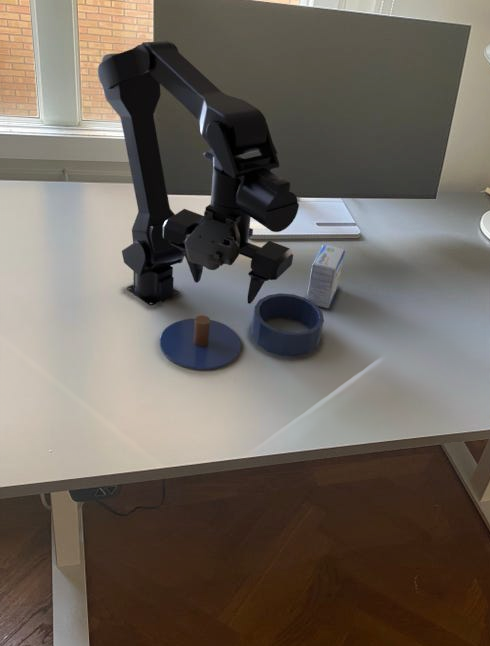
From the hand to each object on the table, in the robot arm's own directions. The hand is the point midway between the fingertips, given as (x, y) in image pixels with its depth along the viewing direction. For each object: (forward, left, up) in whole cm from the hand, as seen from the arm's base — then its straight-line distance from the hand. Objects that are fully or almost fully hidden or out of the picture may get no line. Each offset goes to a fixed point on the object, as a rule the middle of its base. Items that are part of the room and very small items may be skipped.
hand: (223, 291), depth 110 cm
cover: (-2, -2, -11) cm, 11 cm away
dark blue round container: (+5, +11, -11) cm, 17 cm away
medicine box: (+1, +26, -12) cm, 29 cm away
